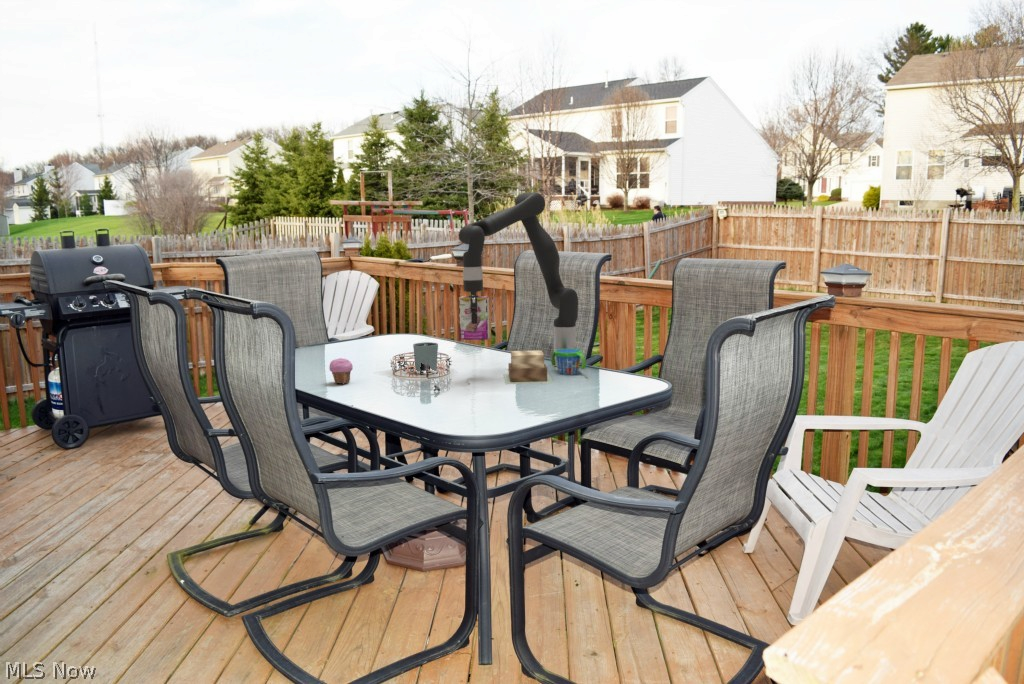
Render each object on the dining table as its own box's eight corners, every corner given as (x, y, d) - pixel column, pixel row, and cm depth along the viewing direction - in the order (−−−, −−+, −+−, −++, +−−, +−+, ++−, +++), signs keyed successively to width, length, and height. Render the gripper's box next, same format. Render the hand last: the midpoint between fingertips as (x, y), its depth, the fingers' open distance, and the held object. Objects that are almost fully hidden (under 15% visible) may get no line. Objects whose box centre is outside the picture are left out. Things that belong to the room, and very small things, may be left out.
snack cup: (545, 374, 314) (544, 350, 312) (563, 371, 321) (562, 346, 319) (573, 380, 303) (573, 354, 301) (591, 376, 310) (591, 351, 308)
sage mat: (548, 376, 311) (548, 373, 311) (553, 385, 294) (553, 382, 293) (503, 377, 310) (503, 374, 310) (505, 387, 293) (505, 384, 292)
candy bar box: (459, 340, 300) (458, 297, 298) (461, 338, 305) (460, 296, 303) (488, 340, 299) (487, 297, 297) (490, 337, 304) (488, 295, 301)
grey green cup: (412, 375, 318) (411, 346, 316) (416, 370, 328) (415, 342, 326) (437, 374, 317) (436, 345, 315) (440, 370, 327) (439, 341, 325)
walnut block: (544, 374, 308) (544, 362, 307) (547, 381, 296) (547, 368, 296) (508, 375, 307) (508, 363, 307) (510, 382, 296) (510, 369, 295)
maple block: (541, 362, 306) (541, 350, 306) (544, 367, 296) (544, 354, 296) (511, 363, 306) (510, 351, 305) (512, 368, 296) (512, 355, 295)
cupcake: (347, 386, 299) (346, 360, 297) (326, 385, 301) (325, 360, 299) (356, 381, 307) (355, 356, 306) (336, 380, 309) (334, 355, 308)
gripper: (483, 279, 292) (484, 324, 294) (482, 276, 306) (483, 319, 308) (463, 280, 291) (464, 325, 294) (463, 277, 305) (464, 320, 308)
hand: (474, 322), depth 301 cm, fingers closed on candy bar box, 5 cm apart
